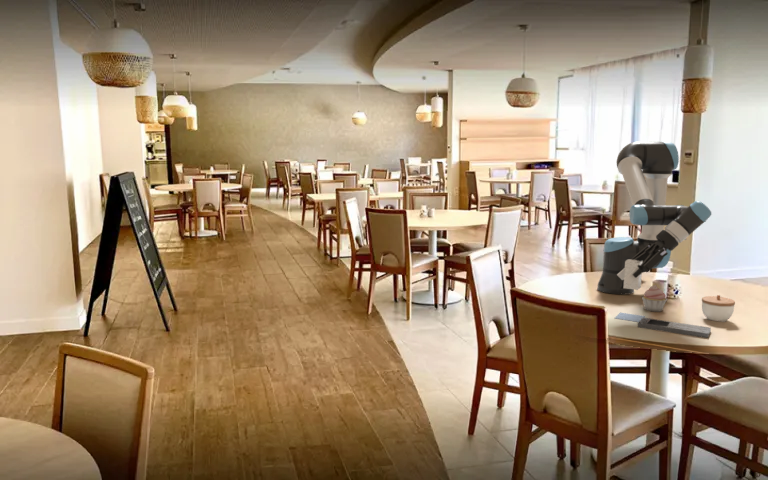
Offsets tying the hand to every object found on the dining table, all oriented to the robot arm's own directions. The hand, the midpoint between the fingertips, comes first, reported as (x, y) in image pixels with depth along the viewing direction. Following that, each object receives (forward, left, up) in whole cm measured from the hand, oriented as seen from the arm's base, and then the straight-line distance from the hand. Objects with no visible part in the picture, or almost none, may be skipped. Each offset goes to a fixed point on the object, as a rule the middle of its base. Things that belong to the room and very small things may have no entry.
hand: (622, 279), depth 228 cm
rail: (+19, -5, -15) cm, 25 cm away
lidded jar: (+30, +18, -15) cm, 38 cm away
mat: (+3, +2, -15) cm, 15 cm away
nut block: (+3, +2, -3) cm, 5 cm away
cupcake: (+8, +20, -15) cm, 26 cm away
